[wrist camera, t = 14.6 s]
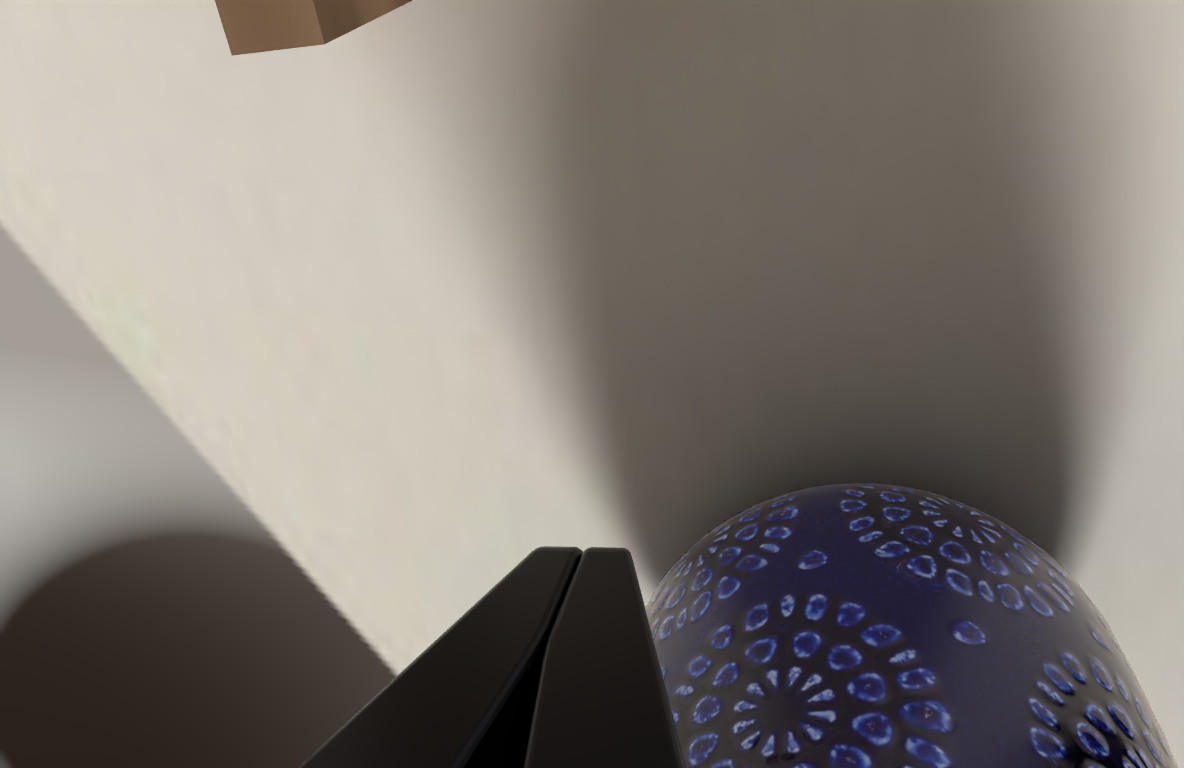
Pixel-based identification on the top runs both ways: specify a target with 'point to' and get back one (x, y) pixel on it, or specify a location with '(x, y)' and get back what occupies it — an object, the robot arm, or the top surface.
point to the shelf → (294, 21)
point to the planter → (890, 643)
